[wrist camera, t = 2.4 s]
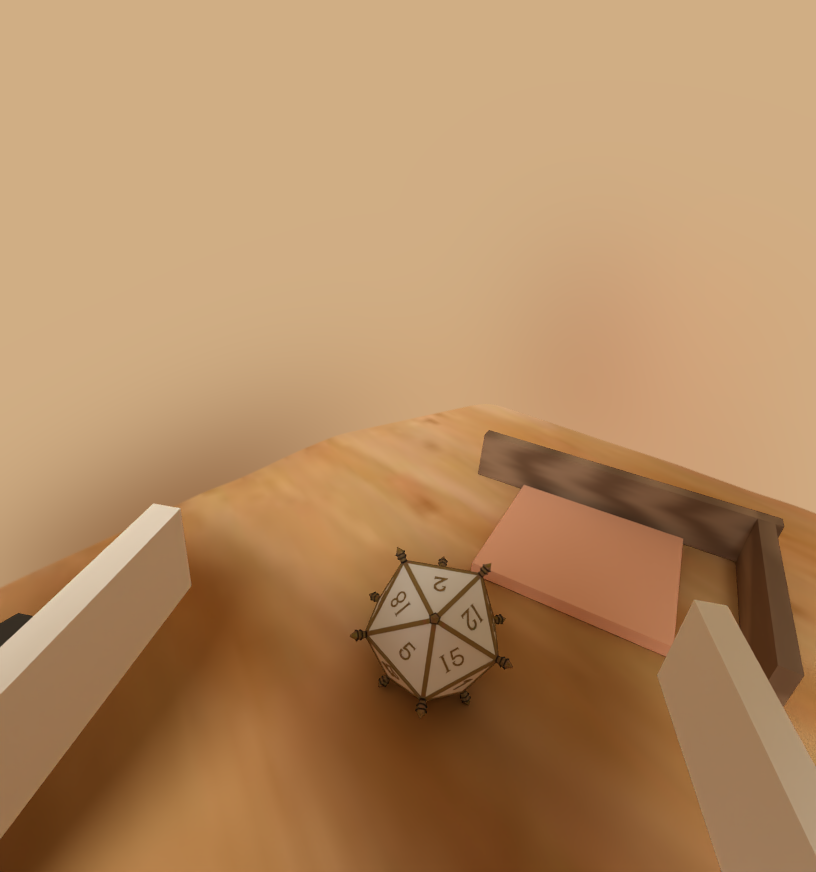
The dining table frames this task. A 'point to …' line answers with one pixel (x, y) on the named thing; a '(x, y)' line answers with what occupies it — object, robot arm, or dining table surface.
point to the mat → (588, 566)
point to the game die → (433, 630)
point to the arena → (680, 516)
